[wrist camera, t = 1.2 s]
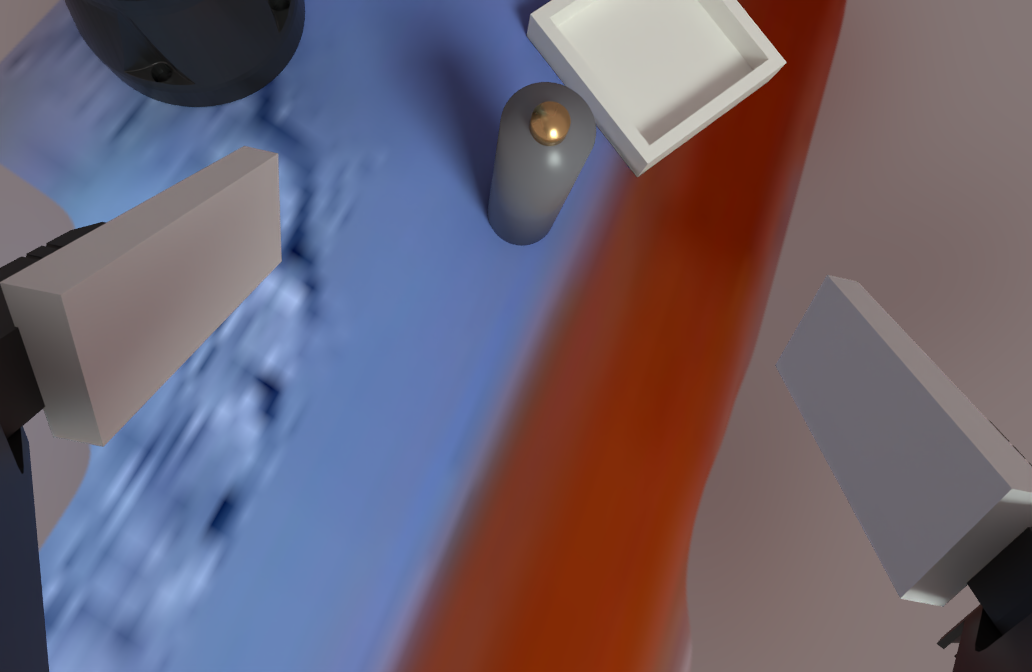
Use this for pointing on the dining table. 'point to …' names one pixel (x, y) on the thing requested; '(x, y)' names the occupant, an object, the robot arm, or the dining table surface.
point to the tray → (654, 66)
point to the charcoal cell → (538, 159)
